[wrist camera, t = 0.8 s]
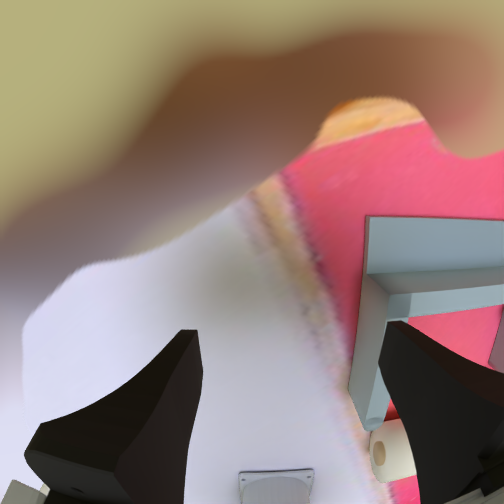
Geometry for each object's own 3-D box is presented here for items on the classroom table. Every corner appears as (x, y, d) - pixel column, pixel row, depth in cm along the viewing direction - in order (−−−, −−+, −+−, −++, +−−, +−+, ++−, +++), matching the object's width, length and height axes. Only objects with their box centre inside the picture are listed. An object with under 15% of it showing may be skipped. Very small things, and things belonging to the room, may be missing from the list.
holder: (496, 363, 24) (520, 386, 20) (346, 394, 25) (361, 432, 20) (526, 221, 21) (561, 231, 16) (365, 215, 21) (395, 226, 16)
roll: (469, 388, 25) (497, 424, 19) (450, 428, 27) (472, 464, 21) (375, 409, 25) (396, 458, 19) (362, 449, 27) (377, 494, 21)
